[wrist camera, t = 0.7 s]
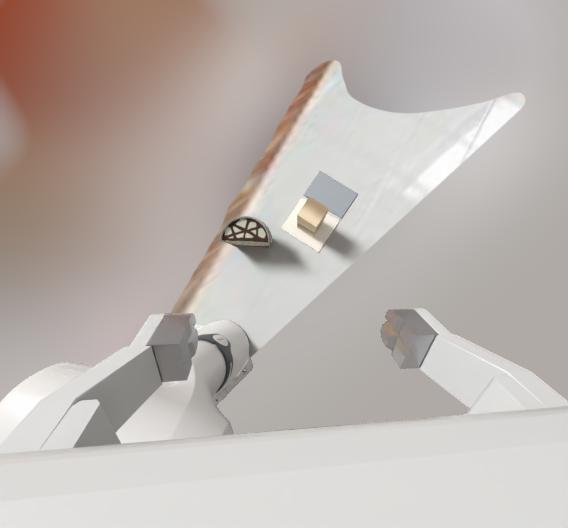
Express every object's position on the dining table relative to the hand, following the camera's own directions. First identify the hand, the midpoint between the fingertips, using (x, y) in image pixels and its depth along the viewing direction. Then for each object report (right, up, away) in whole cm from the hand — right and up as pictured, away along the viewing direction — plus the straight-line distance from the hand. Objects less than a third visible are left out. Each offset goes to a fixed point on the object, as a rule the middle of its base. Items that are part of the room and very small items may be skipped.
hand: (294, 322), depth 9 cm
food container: (-9, +10, +51) cm, 53 cm away
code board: (+9, +17, +50) cm, 54 cm away
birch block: (+6, +13, +50) cm, 52 cm away
